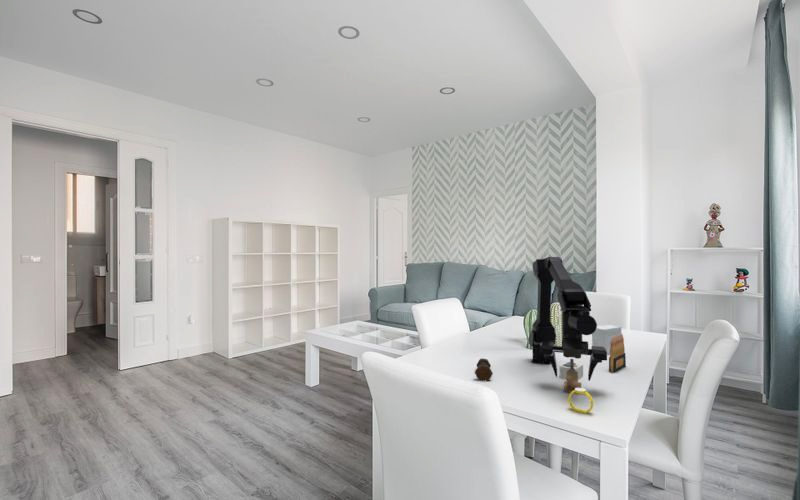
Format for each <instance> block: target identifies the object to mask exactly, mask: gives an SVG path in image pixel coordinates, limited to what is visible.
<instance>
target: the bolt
mask: <svg viewBox="0 0 800 500" xmlns="http://www.w3.org/2000/svg"><path fill="white" fill-rule="evenodd" d="M491 368H492V367H491V363H490V362H489V360H488V359H487V358H479V360H478V361H477V363H476V369H475V371H474V374H475V376H476V377H477V380H478V381H480V380H486V381H485V382H489V381H490V380H491V378H492V376H493V371H492V369H491Z"/></svg>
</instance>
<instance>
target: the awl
mask: <svg viewBox="0 0 800 500" xmlns="http://www.w3.org/2000/svg"><path fill="white" fill-rule="evenodd" d="M569 360H570V361H569V362H570V368H569V370H567V379H566V381H567V388H569V389H573V390H575V388H578V382H579V379H578V372H577V371H575V369H574V362H575V359H573V358H570V359H569Z"/></svg>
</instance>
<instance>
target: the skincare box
mask: <svg viewBox="0 0 800 500" xmlns="http://www.w3.org/2000/svg"><path fill="white" fill-rule="evenodd" d="M621 334H622V326H618V325H611V324H606V325H599V326H598V325H597V328H596V330H595V332H594V333H593V334H591V337H592V338H591V342H592V343H591V347H592V346H599V347H604V348H605V349H606V351H607V356H608V355H610V346H611V339H612V338H614V337H616V336H619V335H621Z"/></svg>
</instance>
